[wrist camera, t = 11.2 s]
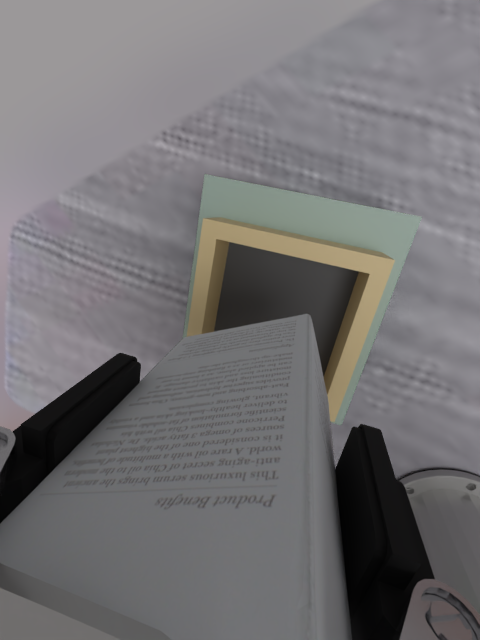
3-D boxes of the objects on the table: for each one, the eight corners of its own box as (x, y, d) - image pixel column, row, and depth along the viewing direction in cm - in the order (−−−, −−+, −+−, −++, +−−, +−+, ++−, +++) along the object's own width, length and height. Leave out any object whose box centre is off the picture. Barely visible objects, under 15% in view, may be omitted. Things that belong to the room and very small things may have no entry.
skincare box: (209, 412, 16) (-38, 890, 5) (183, 334, 15) (-224, 722, 4) (333, 398, 14) (409, 1118, 3) (314, 309, 13) (317, 928, 2)
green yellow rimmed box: (335, 381, 31) (345, 457, 21) (204, 344, 33) (158, 398, 23) (394, 215, 25) (444, 218, 16) (230, 183, 27) (184, 167, 18)
